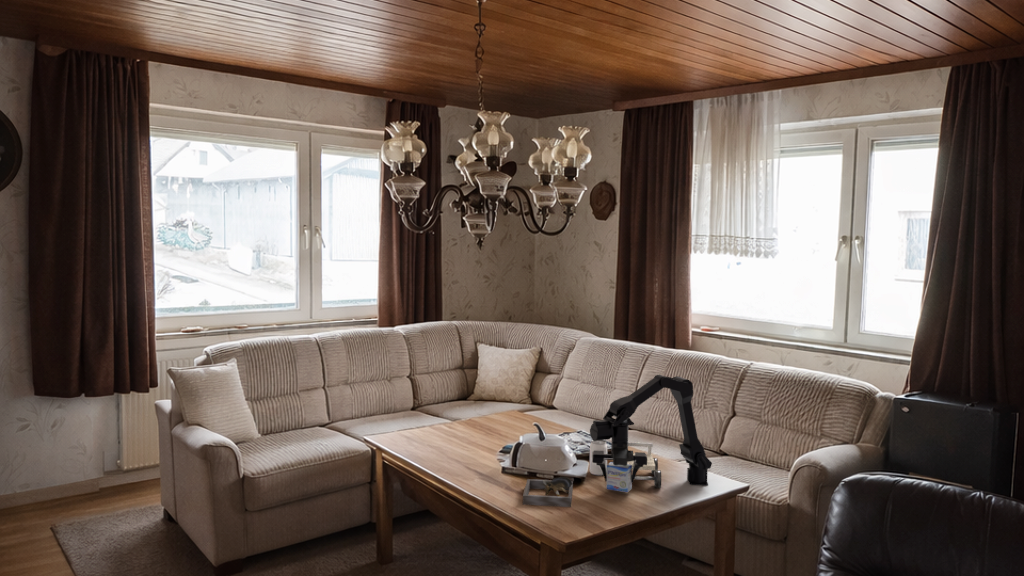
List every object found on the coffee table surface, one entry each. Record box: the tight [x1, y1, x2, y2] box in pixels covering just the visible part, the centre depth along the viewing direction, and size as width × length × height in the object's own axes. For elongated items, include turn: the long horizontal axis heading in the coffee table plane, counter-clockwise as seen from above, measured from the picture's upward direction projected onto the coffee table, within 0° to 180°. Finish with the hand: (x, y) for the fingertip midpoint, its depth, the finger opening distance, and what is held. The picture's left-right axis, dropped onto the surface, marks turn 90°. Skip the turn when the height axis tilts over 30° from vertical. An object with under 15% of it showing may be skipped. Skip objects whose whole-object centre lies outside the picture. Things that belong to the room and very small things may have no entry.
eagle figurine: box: [542, 476, 574, 496], centre depth 246 cm, size 8×7×9 cm
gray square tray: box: [522, 478, 574, 508], centre depth 243 cm, size 16×16×3 cm
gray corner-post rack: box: [627, 441, 662, 488], centre depth 261 cm, size 16×20×12 cm
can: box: [589, 439, 608, 477], centre depth 268 cm, size 6×6×12 cm
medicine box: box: [606, 461, 633, 493], centre depth 248 cm, size 8×4×9 cm, turn 63°
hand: (619, 481), depth 248 cm, fingers closed on medicine box, 9 cm apart
